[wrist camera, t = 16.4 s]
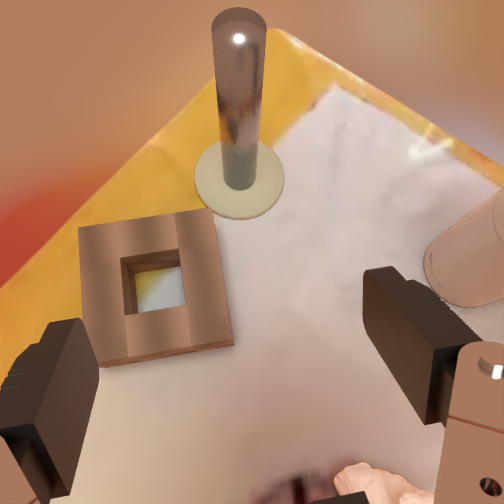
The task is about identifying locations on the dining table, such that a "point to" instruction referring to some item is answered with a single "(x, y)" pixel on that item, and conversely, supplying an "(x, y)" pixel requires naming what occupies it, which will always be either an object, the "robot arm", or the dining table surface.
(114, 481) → the dining table surface
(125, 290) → the brown square frame
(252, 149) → the metallic grey cylinder
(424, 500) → the bust
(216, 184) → the mat
